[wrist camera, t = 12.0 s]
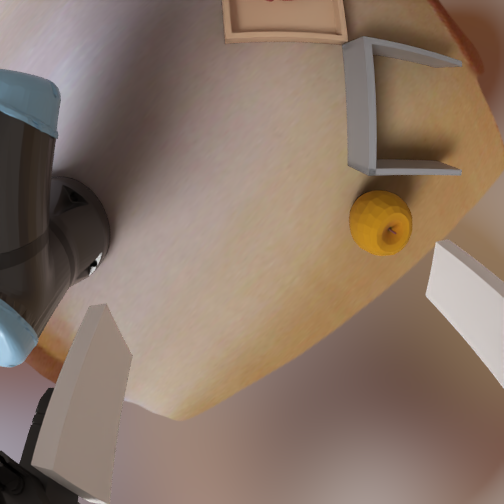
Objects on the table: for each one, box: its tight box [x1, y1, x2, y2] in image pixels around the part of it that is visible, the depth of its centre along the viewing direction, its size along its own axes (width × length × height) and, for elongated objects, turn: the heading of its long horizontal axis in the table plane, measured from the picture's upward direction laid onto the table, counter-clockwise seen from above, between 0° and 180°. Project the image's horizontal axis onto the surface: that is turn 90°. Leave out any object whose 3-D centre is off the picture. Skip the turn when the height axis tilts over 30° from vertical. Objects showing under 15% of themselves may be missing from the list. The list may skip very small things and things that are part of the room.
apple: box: [349, 190, 412, 256], centre depth 36 cm, size 9×8×9 cm
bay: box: [342, 36, 462, 176], centre depth 31 cm, size 16×17×6 cm
